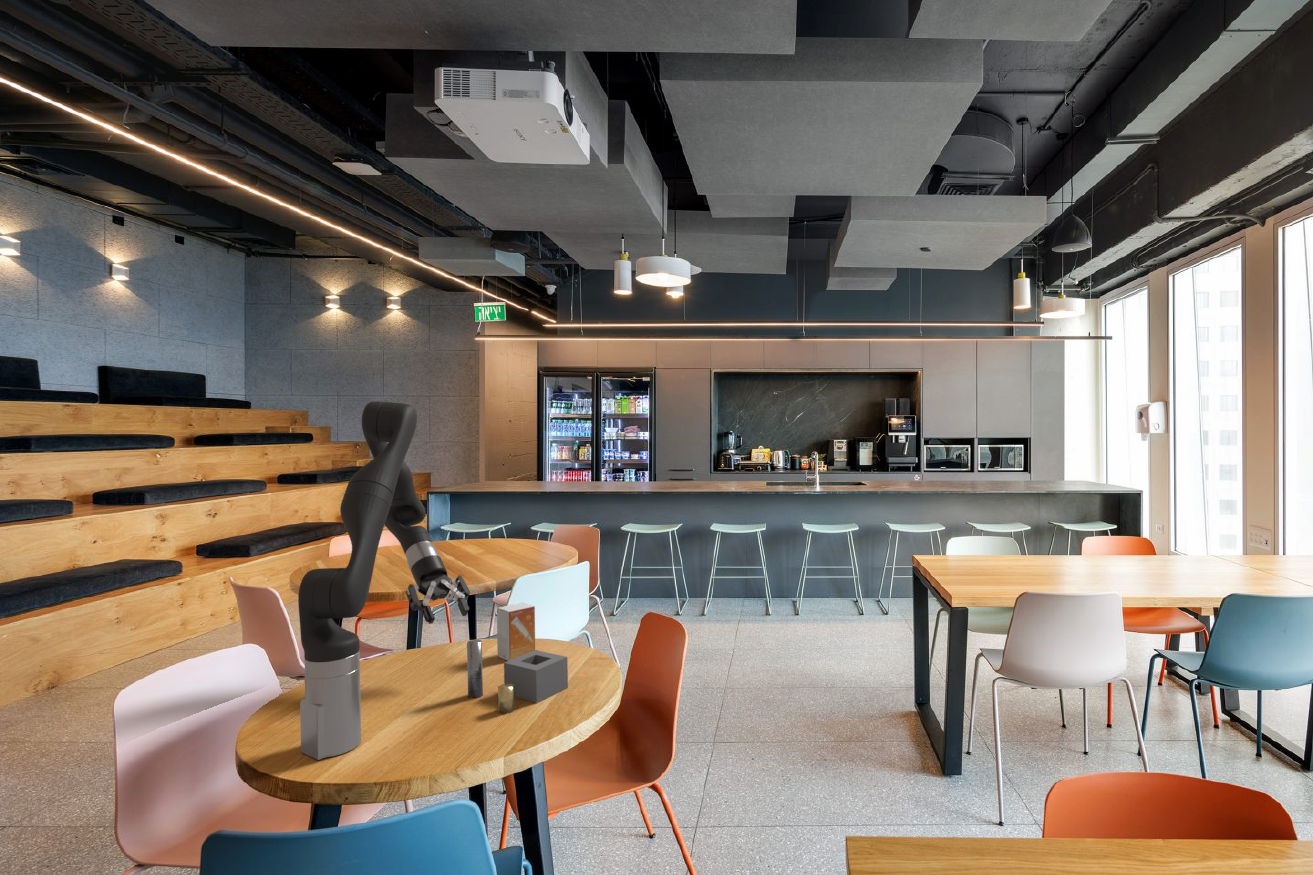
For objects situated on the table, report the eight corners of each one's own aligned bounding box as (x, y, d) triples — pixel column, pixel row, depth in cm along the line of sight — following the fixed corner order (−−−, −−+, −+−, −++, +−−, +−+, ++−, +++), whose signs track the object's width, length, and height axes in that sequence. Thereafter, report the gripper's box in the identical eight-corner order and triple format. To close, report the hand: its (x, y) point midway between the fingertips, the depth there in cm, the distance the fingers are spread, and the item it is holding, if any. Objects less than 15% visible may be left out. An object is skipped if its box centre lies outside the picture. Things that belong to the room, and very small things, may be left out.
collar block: (536, 702, 135) (536, 670, 136) (504, 693, 141) (503, 662, 141) (568, 687, 144) (567, 656, 144) (536, 679, 149) (535, 649, 149)
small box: (509, 662, 162) (508, 611, 162) (497, 656, 167) (496, 607, 167) (536, 654, 168) (535, 605, 168) (523, 649, 172) (522, 601, 172)
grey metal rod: (474, 699, 138) (473, 644, 138) (464, 696, 140) (463, 642, 140) (485, 694, 141) (484, 640, 141) (476, 691, 143) (475, 638, 143)
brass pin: (505, 714, 130) (505, 690, 130) (495, 711, 132) (494, 687, 132) (517, 709, 133) (516, 685, 133) (506, 706, 134) (506, 682, 134)
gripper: (402, 558, 149) (425, 614, 141) (457, 550, 160) (482, 602, 152) (392, 577, 153) (415, 634, 145) (447, 568, 163) (471, 620, 155)
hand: (449, 617), depth 148 cm, fingers open, 8 cm apart
